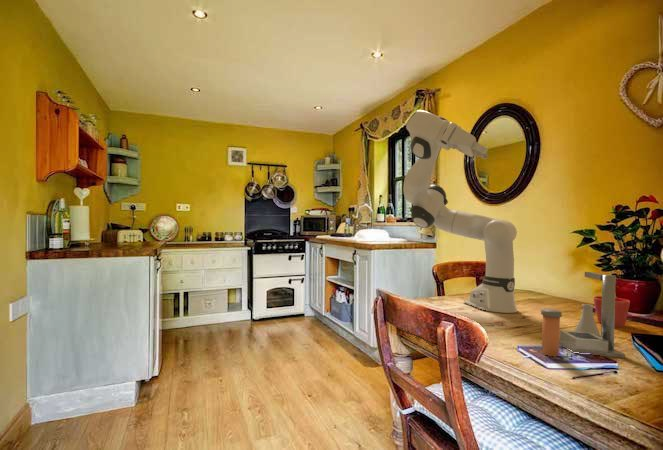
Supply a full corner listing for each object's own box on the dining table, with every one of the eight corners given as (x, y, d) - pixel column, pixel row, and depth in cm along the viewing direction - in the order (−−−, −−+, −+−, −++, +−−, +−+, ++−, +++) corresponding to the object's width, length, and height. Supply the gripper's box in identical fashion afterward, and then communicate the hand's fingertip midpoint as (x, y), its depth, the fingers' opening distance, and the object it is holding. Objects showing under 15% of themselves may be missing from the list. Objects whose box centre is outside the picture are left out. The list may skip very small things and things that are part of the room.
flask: (605, 339, 110) (606, 308, 110) (580, 337, 112) (581, 306, 112) (593, 332, 117) (594, 303, 117) (569, 330, 119) (570, 302, 119)
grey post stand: (573, 354, 96) (576, 276, 96) (547, 337, 110) (549, 269, 111) (625, 357, 94) (627, 278, 94) (591, 340, 109) (593, 271, 109)
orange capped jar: (536, 352, 96) (537, 309, 96) (547, 350, 98) (548, 308, 98) (552, 358, 91) (554, 313, 92) (564, 356, 93) (565, 312, 93)
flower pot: (586, 319, 135) (587, 294, 136) (618, 321, 133) (619, 296, 133) (602, 326, 125) (603, 300, 125) (636, 329, 123) (637, 302, 123)
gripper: (448, 150, 129) (482, 167, 124) (441, 138, 110) (480, 157, 105) (457, 135, 127) (492, 151, 122) (451, 120, 109) (492, 139, 104)
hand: (487, 154), depth 114 cm, fingers open, 8 cm apart
